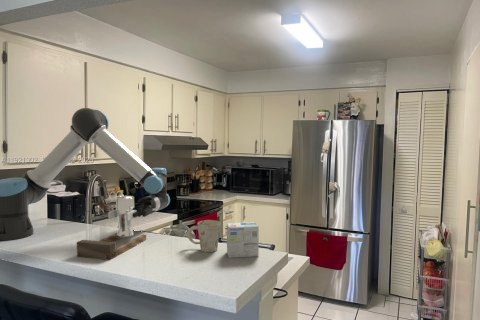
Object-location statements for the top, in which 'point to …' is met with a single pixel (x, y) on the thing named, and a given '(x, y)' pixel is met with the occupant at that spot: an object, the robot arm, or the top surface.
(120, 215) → the metal tumbler
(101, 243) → the brown u-shaped block
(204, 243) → the mug
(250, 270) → the top surface
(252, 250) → the light bulb box
